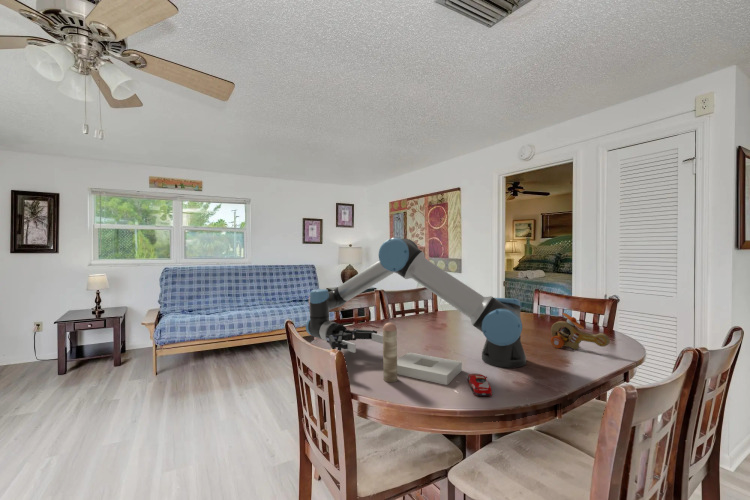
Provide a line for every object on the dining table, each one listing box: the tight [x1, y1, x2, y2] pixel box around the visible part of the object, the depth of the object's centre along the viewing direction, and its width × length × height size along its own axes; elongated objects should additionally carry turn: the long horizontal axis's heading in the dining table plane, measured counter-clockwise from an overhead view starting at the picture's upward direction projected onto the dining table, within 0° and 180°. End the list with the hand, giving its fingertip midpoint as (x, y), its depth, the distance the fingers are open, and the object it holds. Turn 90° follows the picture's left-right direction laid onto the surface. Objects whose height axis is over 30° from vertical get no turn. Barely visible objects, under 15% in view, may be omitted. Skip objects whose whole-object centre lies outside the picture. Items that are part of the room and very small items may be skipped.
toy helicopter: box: [550, 312, 611, 350], centre depth 135 cm, size 8×21×14 cm, turn 39°
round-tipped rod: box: [382, 322, 398, 383], centre depth 108 cm, size 4×4×18 cm
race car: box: [467, 373, 493, 397], centre depth 101 cm, size 13×5×4 cm, turn 173°
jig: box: [397, 351, 463, 386], centre depth 114 cm, size 20×14×3 cm
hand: (370, 344), depth 114 cm, fingers open, 13 cm apart
